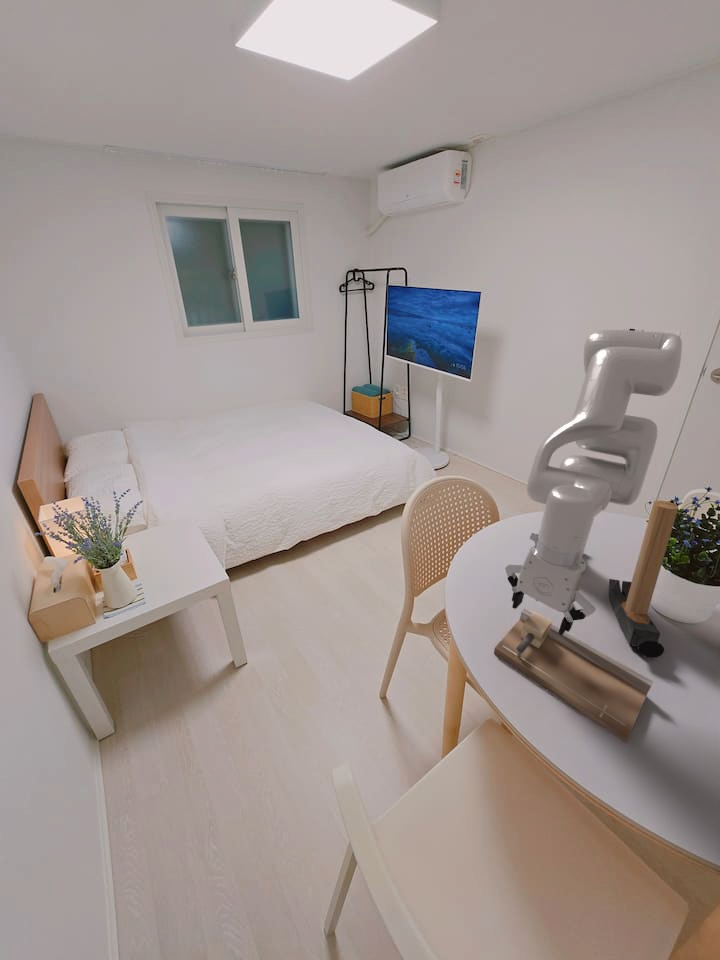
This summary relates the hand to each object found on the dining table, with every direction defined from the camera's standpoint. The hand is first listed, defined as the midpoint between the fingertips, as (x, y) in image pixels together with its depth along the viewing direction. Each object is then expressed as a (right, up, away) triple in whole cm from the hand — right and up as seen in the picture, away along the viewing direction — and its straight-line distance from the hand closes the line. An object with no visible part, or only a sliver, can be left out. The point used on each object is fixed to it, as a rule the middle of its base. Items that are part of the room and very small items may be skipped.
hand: (539, 617), depth 82 cm
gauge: (-1, -6, +2) cm, 7 cm away
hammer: (+25, -5, +9) cm, 26 cm away
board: (+4, -11, -2) cm, 12 cm away
